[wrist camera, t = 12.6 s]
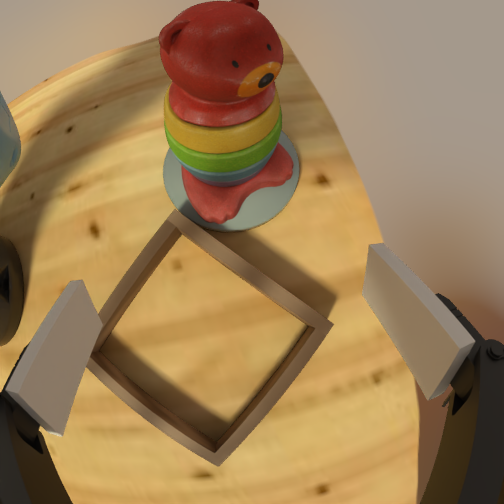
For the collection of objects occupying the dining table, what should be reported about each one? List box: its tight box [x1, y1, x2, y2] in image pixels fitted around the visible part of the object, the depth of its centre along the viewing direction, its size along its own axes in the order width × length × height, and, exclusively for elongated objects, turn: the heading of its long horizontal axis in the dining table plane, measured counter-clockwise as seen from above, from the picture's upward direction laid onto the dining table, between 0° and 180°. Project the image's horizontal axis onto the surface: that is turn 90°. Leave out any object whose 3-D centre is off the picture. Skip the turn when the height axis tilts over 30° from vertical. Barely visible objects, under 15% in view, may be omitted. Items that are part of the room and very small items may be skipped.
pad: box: [163, 130, 299, 232], centre depth 27 cm, size 14×14×1 cm
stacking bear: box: [159, 0, 294, 224], centre depth 18 cm, size 11×10×18 cm
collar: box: [86, 209, 334, 467], centre depth 23 cm, size 17×17×2 cm
